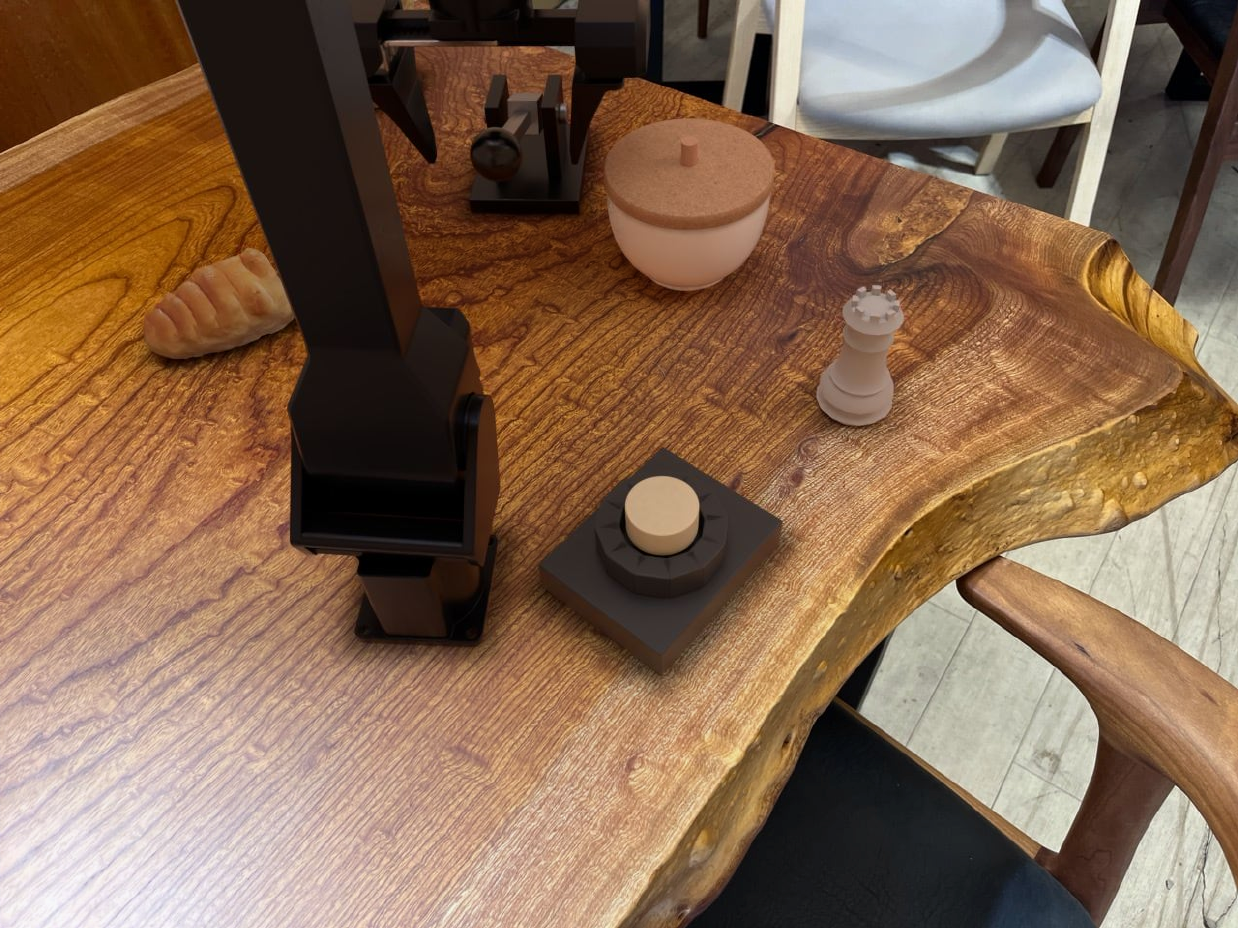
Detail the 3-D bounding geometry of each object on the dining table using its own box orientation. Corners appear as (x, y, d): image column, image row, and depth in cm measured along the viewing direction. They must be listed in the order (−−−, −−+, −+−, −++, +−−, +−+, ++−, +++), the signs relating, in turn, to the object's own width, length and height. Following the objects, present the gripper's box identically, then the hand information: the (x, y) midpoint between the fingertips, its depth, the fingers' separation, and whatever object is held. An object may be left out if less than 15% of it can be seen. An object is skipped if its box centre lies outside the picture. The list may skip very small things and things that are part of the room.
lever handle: (519, 188, 59) (516, 134, 57) (467, 187, 59) (462, 133, 57) (551, 132, 71) (549, 86, 70) (508, 132, 71) (505, 86, 70)
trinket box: (648, 334, 62) (647, 213, 54) (584, 240, 68) (574, 120, 61) (794, 285, 64) (811, 163, 57) (718, 199, 70) (725, 78, 63)
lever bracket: (579, 214, 70) (573, 130, 65) (470, 213, 70) (455, 130, 65) (590, 136, 76) (585, 54, 71) (490, 136, 77) (478, 54, 71)
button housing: (661, 677, 47) (661, 637, 44) (541, 587, 50) (533, 544, 47) (779, 544, 51) (786, 499, 48) (662, 470, 55) (662, 424, 52)
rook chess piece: (801, 388, 58) (818, 286, 52) (866, 367, 59) (890, 264, 53) (839, 440, 56) (861, 339, 49) (905, 416, 57) (936, 315, 50)
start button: (667, 568, 46) (667, 548, 45) (610, 530, 48) (609, 509, 46) (712, 521, 48) (714, 500, 46) (656, 485, 49) (656, 464, 48)
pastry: (175, 386, 60) (149, 342, 57) (135, 331, 64) (109, 286, 61) (309, 319, 64) (292, 274, 61) (265, 270, 67) (246, 225, 64)
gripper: (653, -165, 54) (654, 93, 66) (327, -160, 55) (387, 93, 67) (644, -81, 47) (647, 190, 59) (271, -77, 48) (350, 188, 60)
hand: (504, 160), depth 62 cm, fingers open, 9 cm apart
